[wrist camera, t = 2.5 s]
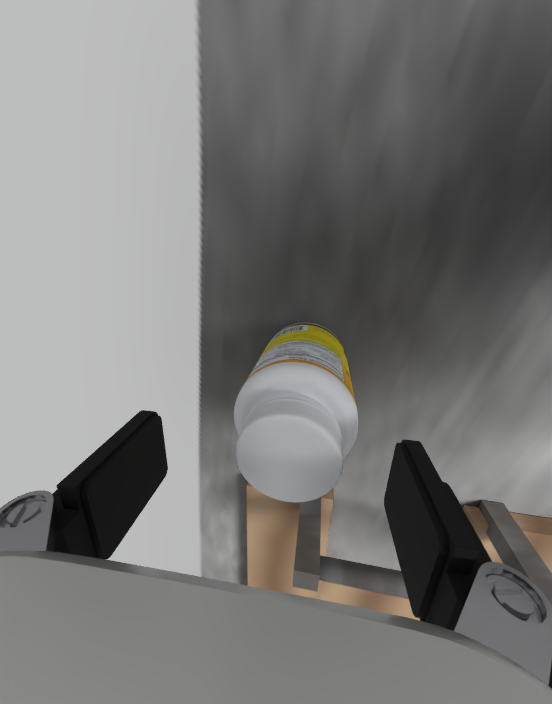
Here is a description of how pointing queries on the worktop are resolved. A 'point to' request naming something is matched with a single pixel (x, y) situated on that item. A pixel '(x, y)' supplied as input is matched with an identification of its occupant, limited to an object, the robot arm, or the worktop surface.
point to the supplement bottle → (296, 415)
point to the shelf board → (366, 580)
